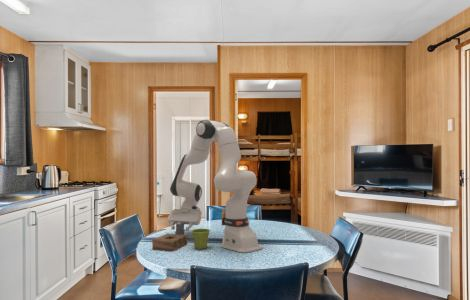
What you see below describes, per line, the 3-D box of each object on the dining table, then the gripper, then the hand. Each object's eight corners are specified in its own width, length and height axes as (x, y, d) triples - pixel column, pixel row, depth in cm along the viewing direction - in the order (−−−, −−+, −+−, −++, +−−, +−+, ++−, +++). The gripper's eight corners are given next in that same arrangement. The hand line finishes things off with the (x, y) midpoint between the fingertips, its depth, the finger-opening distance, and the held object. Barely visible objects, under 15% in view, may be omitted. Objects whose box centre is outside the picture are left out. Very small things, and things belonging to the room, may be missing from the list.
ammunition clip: (222, 225, 219) (222, 207, 219) (221, 224, 221) (221, 207, 221) (237, 224, 222) (237, 206, 223) (236, 223, 224) (236, 206, 224)
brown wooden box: (167, 242, 176) (167, 233, 176) (186, 244, 172) (186, 235, 172) (152, 249, 163) (152, 240, 163) (173, 251, 159) (173, 241, 159)
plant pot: (192, 250, 159) (192, 233, 160) (190, 245, 168) (190, 229, 169) (211, 249, 162) (211, 231, 162) (208, 244, 171) (208, 228, 171)
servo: (180, 236, 189) (180, 221, 189) (185, 236, 188) (185, 221, 188) (175, 238, 183) (174, 223, 183) (179, 239, 182) (179, 223, 182)
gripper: (170, 206, 196) (161, 225, 187) (201, 207, 189) (193, 227, 180) (174, 212, 200) (166, 231, 191) (204, 213, 193) (197, 234, 184)
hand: (179, 229), depth 185 cm, fingers open, 8 cm apart
